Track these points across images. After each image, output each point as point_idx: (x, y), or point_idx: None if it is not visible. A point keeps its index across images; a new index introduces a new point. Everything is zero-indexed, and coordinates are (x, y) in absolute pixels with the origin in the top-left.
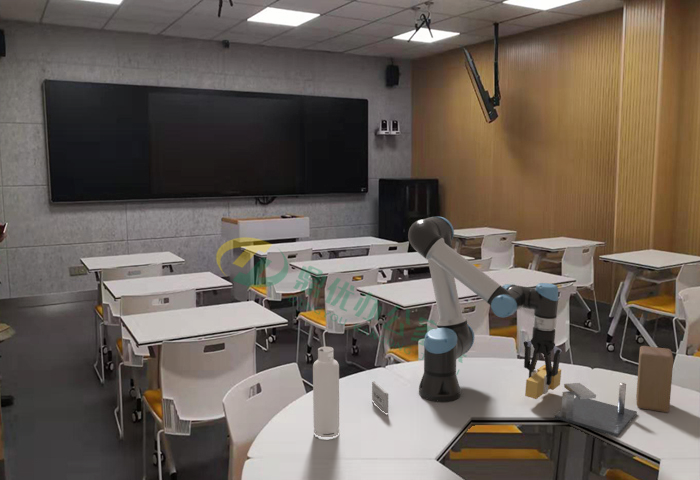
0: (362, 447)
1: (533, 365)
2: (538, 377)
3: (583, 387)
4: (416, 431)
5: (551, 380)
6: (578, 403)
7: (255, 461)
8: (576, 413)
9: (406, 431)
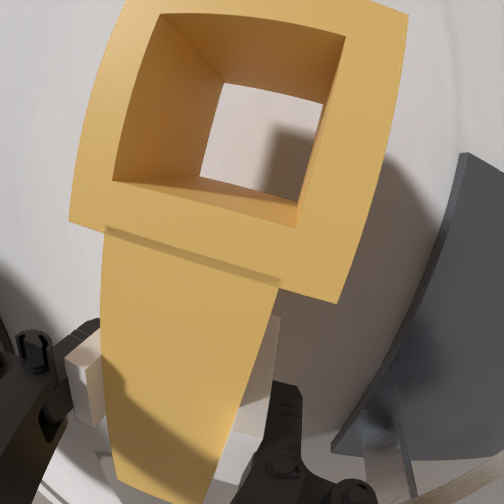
0: (68, 497)
1: (43, 474)
2: (166, 453)
3: (501, 497)
4: (74, 482)
5: (301, 417)
6: (469, 284)
7: (42, 493)
8: (432, 405)
9: (66, 479)
